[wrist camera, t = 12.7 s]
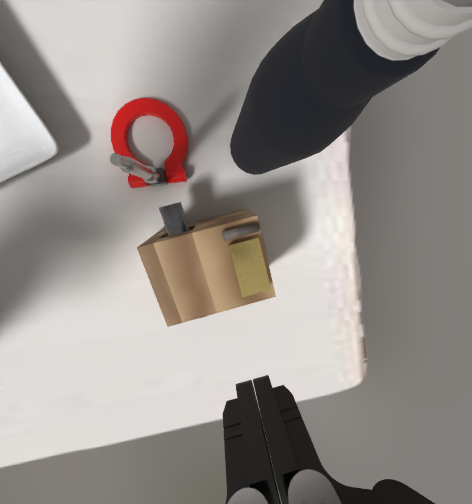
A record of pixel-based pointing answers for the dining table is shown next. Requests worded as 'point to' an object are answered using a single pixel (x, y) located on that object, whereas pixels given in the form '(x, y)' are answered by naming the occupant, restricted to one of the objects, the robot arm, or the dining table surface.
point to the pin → (174, 219)
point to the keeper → (249, 266)
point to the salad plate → (21, 131)
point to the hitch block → (201, 267)
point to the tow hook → (136, 169)
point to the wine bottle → (336, 73)
